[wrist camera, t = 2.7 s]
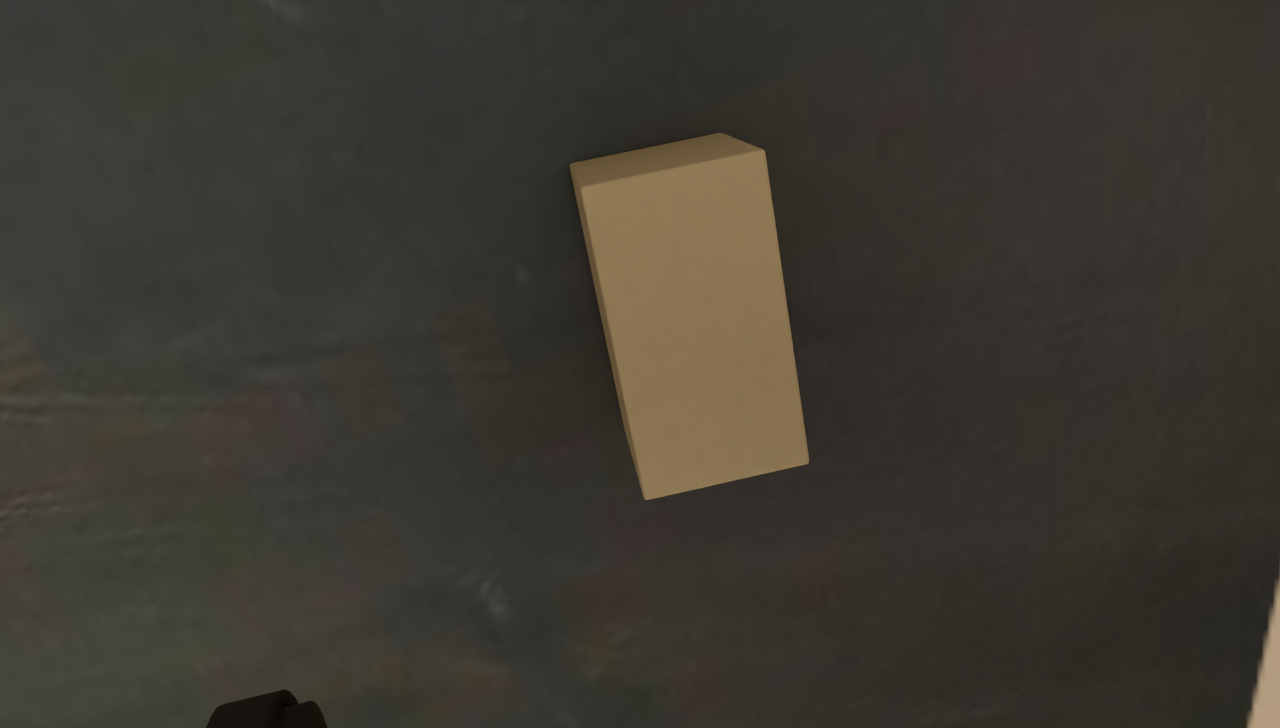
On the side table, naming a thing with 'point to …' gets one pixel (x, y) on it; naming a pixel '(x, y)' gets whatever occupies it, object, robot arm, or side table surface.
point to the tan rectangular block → (693, 311)
